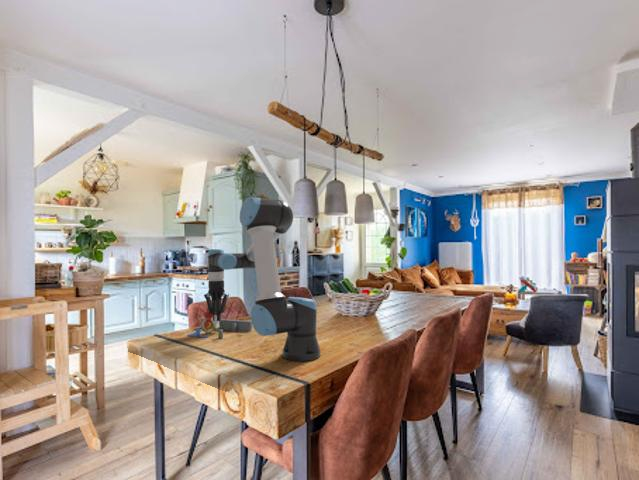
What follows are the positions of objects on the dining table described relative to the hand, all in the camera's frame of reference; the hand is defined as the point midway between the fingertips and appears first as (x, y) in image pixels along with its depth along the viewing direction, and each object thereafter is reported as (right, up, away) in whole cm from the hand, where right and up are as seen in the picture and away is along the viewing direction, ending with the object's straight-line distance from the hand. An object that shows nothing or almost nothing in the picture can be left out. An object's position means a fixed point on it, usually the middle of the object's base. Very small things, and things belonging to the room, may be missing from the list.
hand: (216, 327), depth 174 cm
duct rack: (0, -3, +1) cm, 3 cm away
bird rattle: (-3, -3, +1) cm, 4 cm away
